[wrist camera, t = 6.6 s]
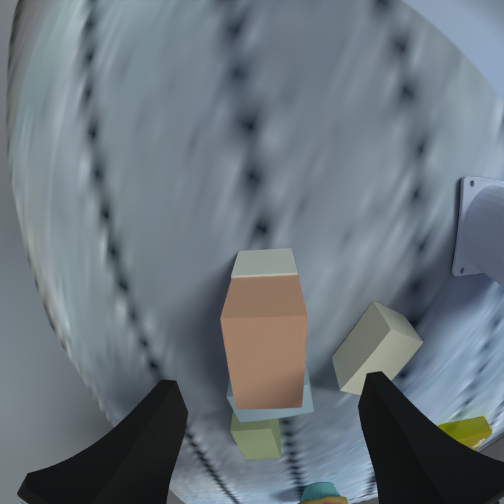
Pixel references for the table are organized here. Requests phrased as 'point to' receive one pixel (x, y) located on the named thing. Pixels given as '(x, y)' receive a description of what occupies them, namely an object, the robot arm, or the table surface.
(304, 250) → the table surface
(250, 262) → the grey brick
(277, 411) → the blue brick
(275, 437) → the olive brick
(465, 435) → the element tile
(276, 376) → the terracotta brick
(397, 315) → the cream brick
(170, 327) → the table surface
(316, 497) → the cupcake
